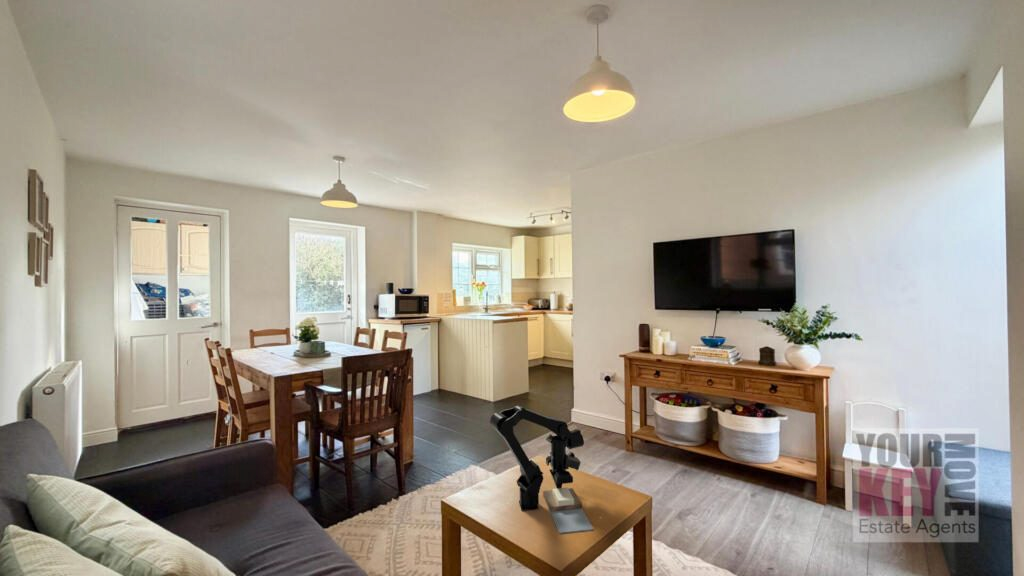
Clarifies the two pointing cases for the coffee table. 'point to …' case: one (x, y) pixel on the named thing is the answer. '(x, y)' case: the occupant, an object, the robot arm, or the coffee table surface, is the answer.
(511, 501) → the coffee table surface
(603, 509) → the coffee table surface
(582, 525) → the mat
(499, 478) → the coffee table surface
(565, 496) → the tile
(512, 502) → the coffee table surface
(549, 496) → the plate
